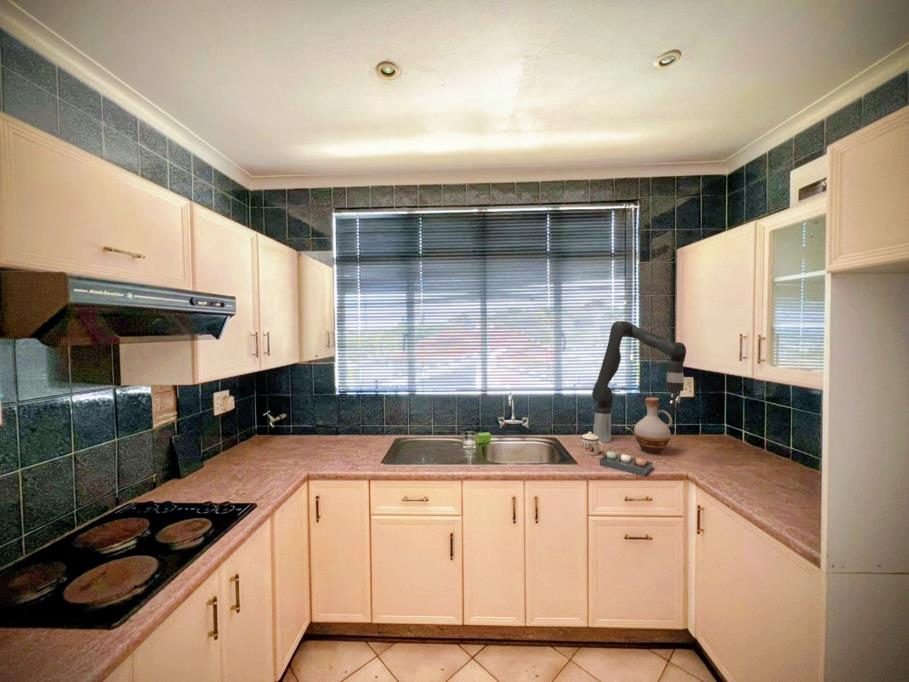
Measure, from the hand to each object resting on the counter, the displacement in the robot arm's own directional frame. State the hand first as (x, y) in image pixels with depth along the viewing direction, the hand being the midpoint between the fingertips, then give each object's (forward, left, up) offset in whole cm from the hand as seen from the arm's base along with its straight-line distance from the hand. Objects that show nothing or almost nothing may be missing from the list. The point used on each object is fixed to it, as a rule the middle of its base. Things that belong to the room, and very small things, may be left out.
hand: (674, 412), depth 185 cm
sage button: (-23, -25, -24) cm, 41 cm away
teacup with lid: (-36, -17, -26) cm, 47 cm away
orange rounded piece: (-9, -25, -23) cm, 35 cm away
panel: (-16, -25, -26) cm, 39 cm away
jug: (-12, +8, -26) cm, 30 cm away
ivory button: (-16, -25, -23) cm, 38 cm away
